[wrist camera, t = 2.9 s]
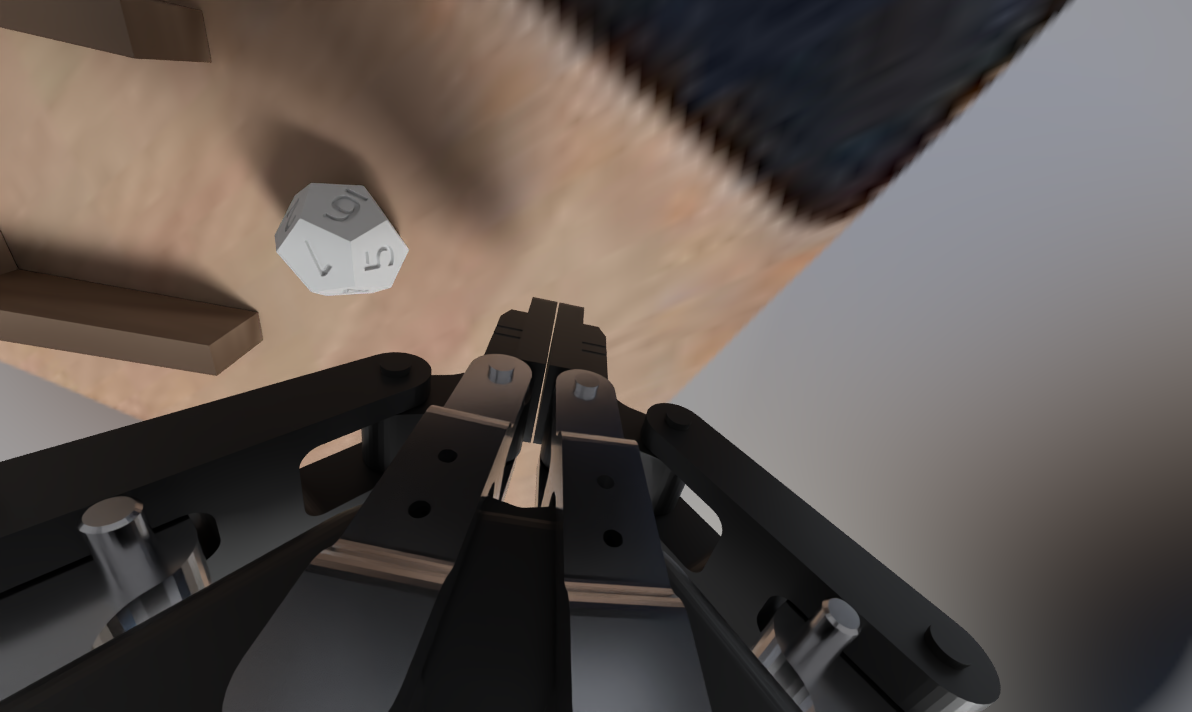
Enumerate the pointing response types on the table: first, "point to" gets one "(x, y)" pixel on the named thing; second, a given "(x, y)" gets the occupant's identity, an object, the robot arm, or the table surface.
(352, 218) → the game die
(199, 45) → the dice corral
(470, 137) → the table surface
